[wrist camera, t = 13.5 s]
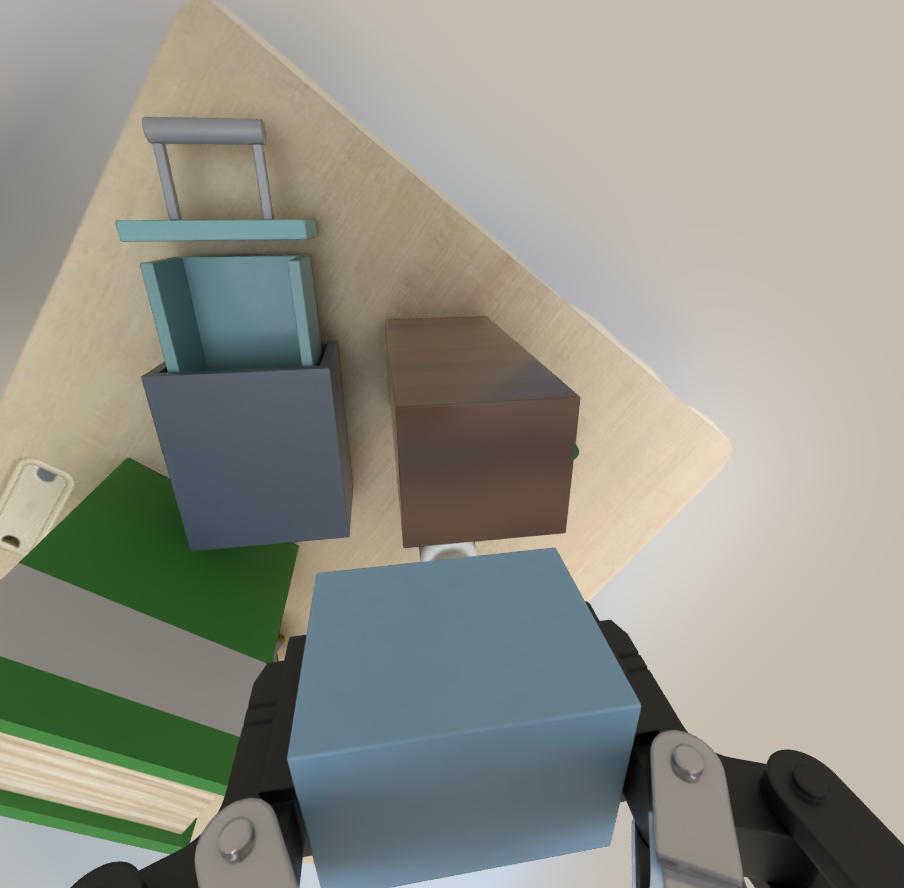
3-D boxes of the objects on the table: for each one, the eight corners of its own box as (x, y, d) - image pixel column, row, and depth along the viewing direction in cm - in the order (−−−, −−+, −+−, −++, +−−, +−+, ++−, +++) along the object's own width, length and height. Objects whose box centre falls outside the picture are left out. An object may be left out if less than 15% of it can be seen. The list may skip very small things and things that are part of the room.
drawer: (136, 128, 34) (83, 107, 27) (306, 130, 35) (291, 112, 29) (199, 393, 42) (169, 423, 36) (334, 386, 43) (328, 414, 37)
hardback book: (298, 546, 50) (242, 790, 29) (260, 593, 52) (180, 856, 31) (127, 457, 44) (-110, 686, 22) (90, 515, 46) (-163, 778, 24)
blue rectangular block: (338, 698, 14) (323, 902, 10) (315, 572, 12) (285, 760, 8) (544, 669, 14) (611, 847, 10) (555, 546, 12) (643, 705, 8)
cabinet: (184, 347, 41) (140, 376, 33) (337, 341, 42) (329, 368, 35) (220, 497, 47) (190, 551, 39) (353, 486, 49) (349, 537, 41)
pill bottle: (415, 498, 50) (424, 556, 41) (466, 495, 51) (485, 552, 42) (415, 541, 52) (423, 605, 44) (464, 538, 53) (482, 601, 44)
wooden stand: (385, 319, 42) (395, 407, 22) (486, 316, 43) (581, 396, 24) (390, 406, 46) (403, 548, 26) (484, 400, 47) (566, 533, 27)
